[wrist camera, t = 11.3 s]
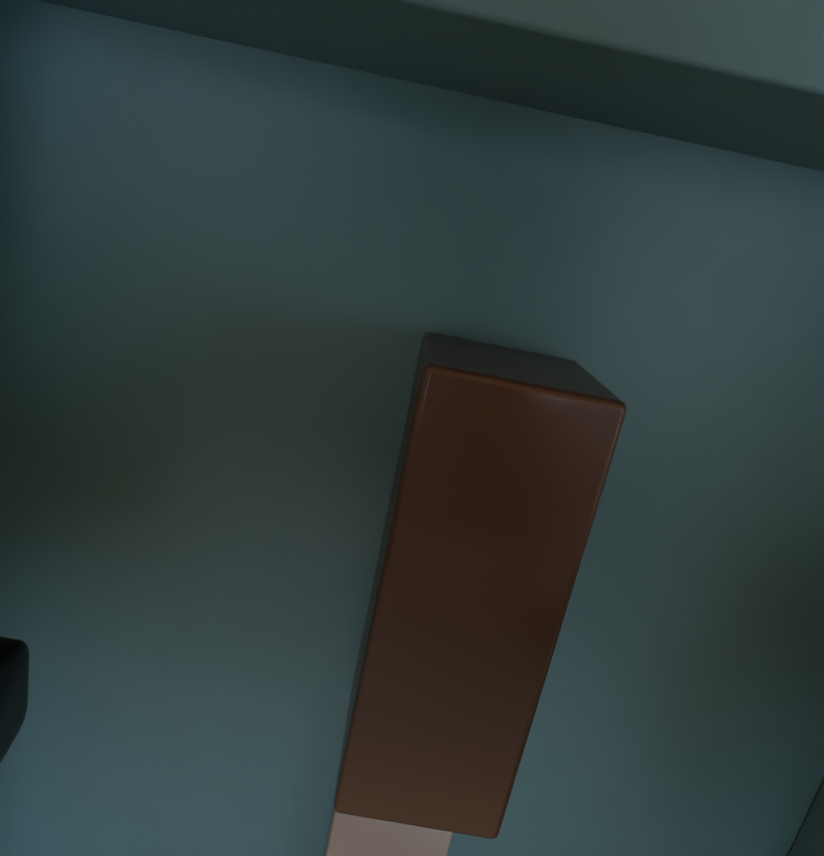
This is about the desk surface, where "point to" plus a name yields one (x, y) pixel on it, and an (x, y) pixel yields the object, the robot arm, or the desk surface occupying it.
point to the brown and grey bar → (468, 592)
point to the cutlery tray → (404, 400)
